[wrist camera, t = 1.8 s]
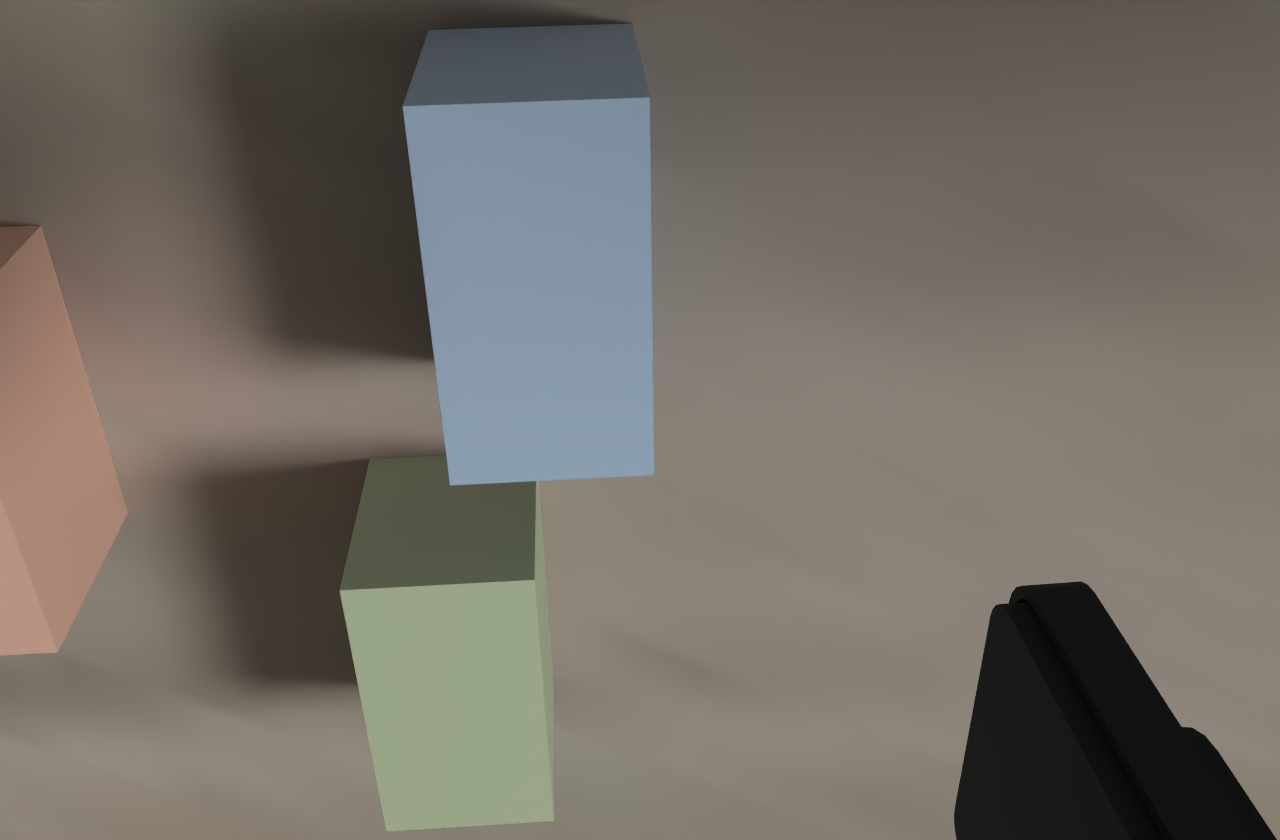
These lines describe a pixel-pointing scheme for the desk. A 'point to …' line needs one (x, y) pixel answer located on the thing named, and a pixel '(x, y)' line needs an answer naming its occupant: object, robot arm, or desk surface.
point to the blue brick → (536, 248)
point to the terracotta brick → (46, 456)
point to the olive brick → (452, 646)
